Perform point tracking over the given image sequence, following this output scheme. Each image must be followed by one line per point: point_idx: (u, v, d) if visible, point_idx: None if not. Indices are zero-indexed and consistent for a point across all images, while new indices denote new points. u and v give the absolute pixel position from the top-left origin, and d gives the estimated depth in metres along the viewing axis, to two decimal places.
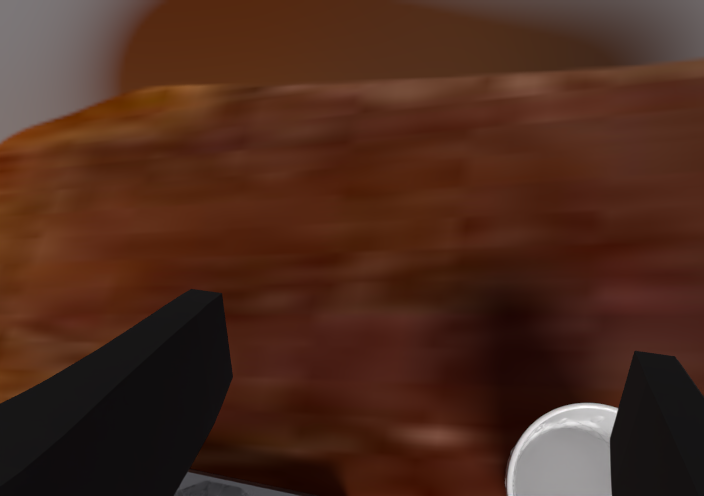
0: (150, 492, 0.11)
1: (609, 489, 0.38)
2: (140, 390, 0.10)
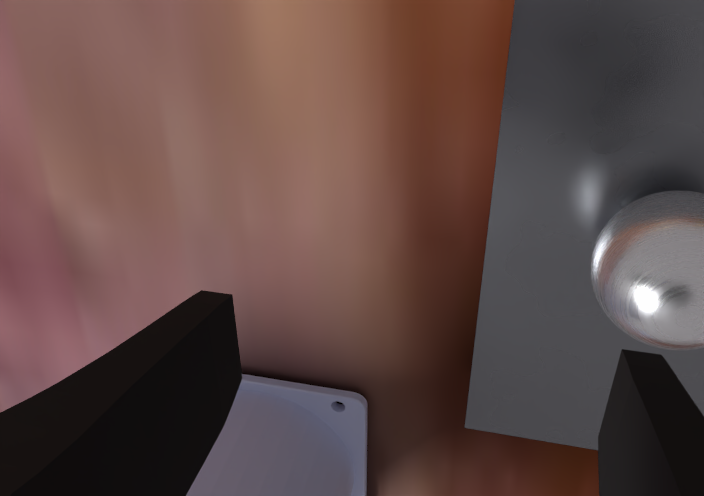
0: (161, 494, 0.11)
1: None
2: (152, 392, 0.10)
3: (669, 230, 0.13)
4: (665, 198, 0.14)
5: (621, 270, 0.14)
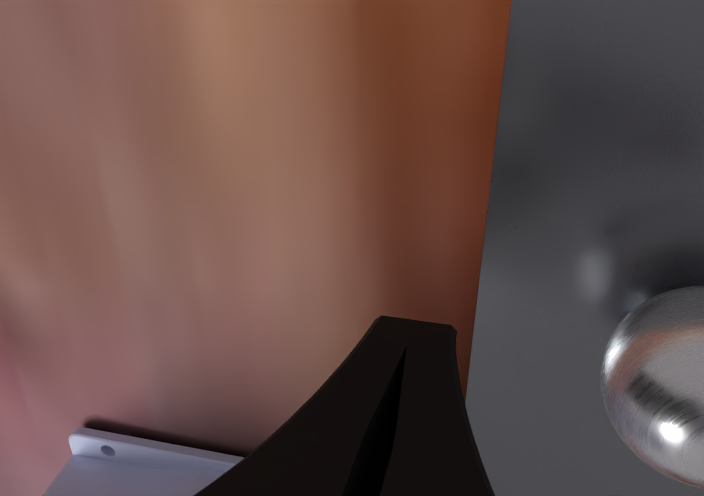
0: None
1: None
2: (375, 431, 0.09)
3: (703, 348, 0.10)
4: (695, 301, 0.11)
5: (641, 394, 0.11)
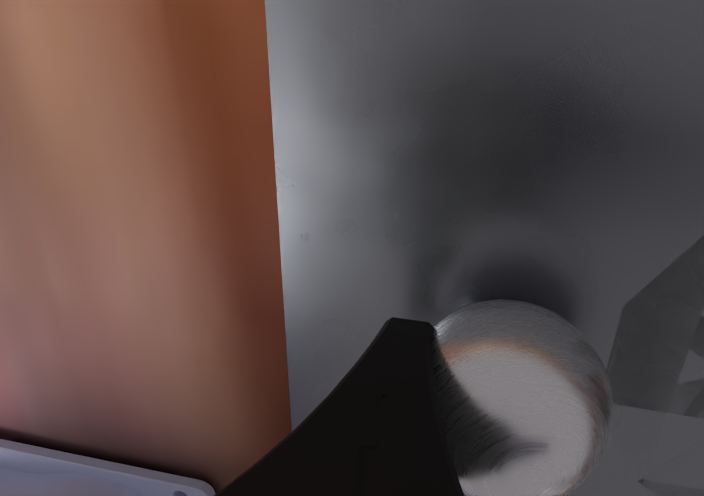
0: None
1: None
2: None
3: (491, 371, 0.10)
4: (481, 319, 0.11)
5: None
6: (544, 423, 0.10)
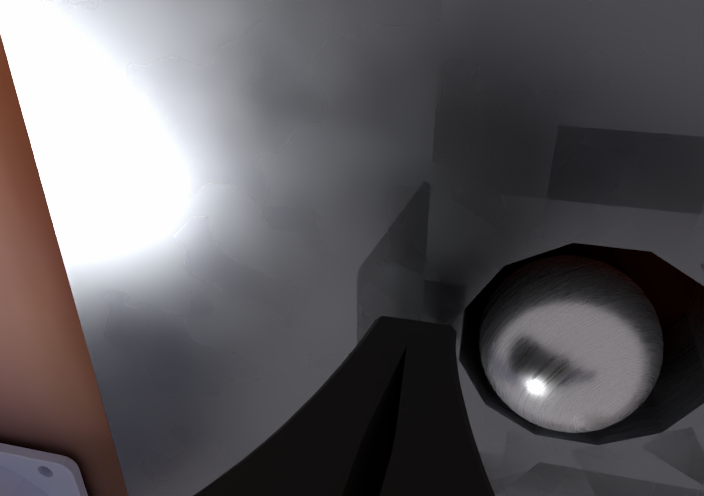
0: None
1: None
2: (375, 431, 0.09)
3: (553, 264, 0.12)
4: (582, 296, 0.12)
5: None
6: (510, 274, 0.13)
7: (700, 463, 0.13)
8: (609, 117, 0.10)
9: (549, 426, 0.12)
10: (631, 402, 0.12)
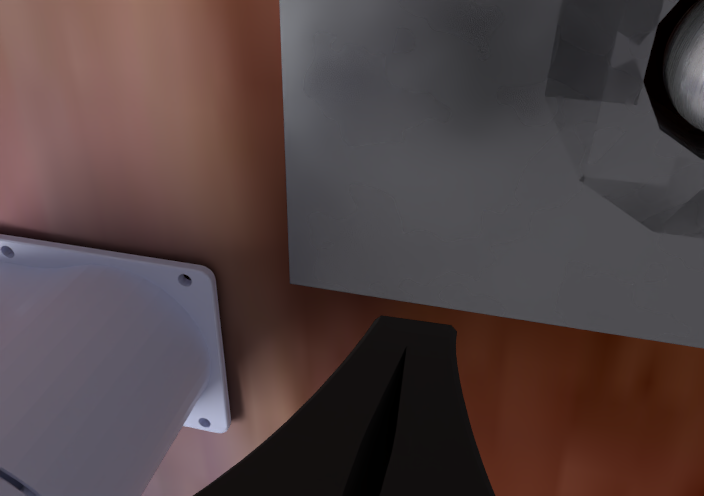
0: None
1: None
2: (375, 431, 0.09)
3: None
4: None
5: None
6: None
7: None
8: None
9: None
10: None
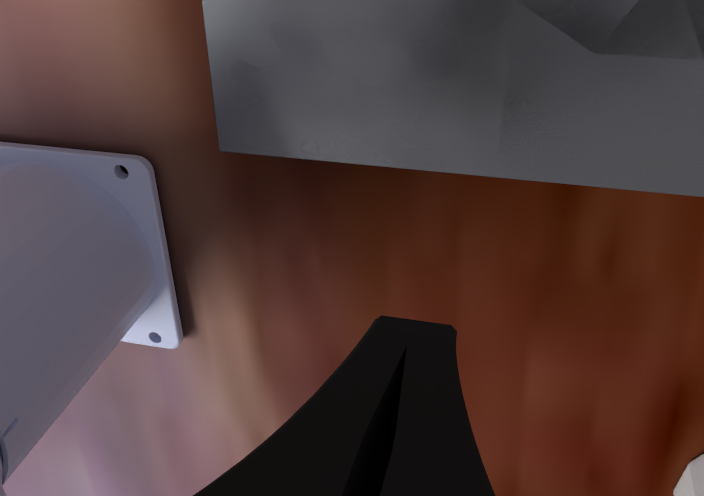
0: None
1: None
2: (375, 431, 0.09)
3: None
4: None
5: None
6: None
7: None
8: None
9: None
10: None
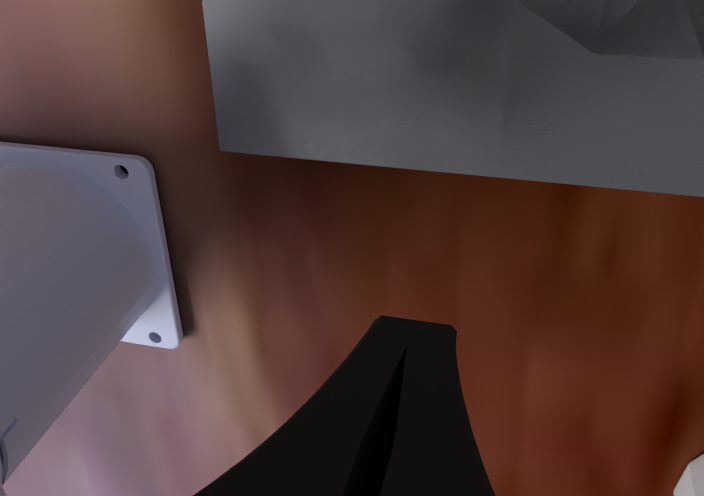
0: None
1: None
2: (375, 431, 0.09)
3: None
4: None
5: None
6: None
7: None
8: None
9: None
10: None
